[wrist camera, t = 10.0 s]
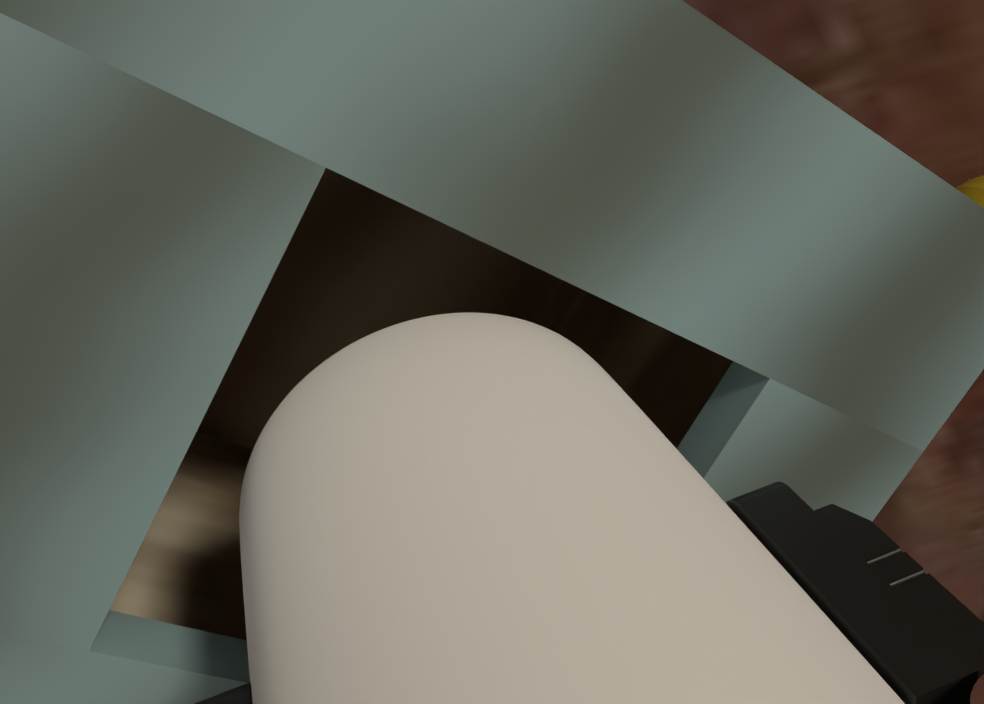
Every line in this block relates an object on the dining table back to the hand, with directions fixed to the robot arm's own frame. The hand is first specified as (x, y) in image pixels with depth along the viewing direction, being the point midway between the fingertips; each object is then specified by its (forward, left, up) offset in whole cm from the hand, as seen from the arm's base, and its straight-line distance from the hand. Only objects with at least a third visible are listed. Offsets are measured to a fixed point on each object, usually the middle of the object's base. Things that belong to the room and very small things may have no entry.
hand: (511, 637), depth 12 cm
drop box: (0, 0, -17) cm, 17 cm away
